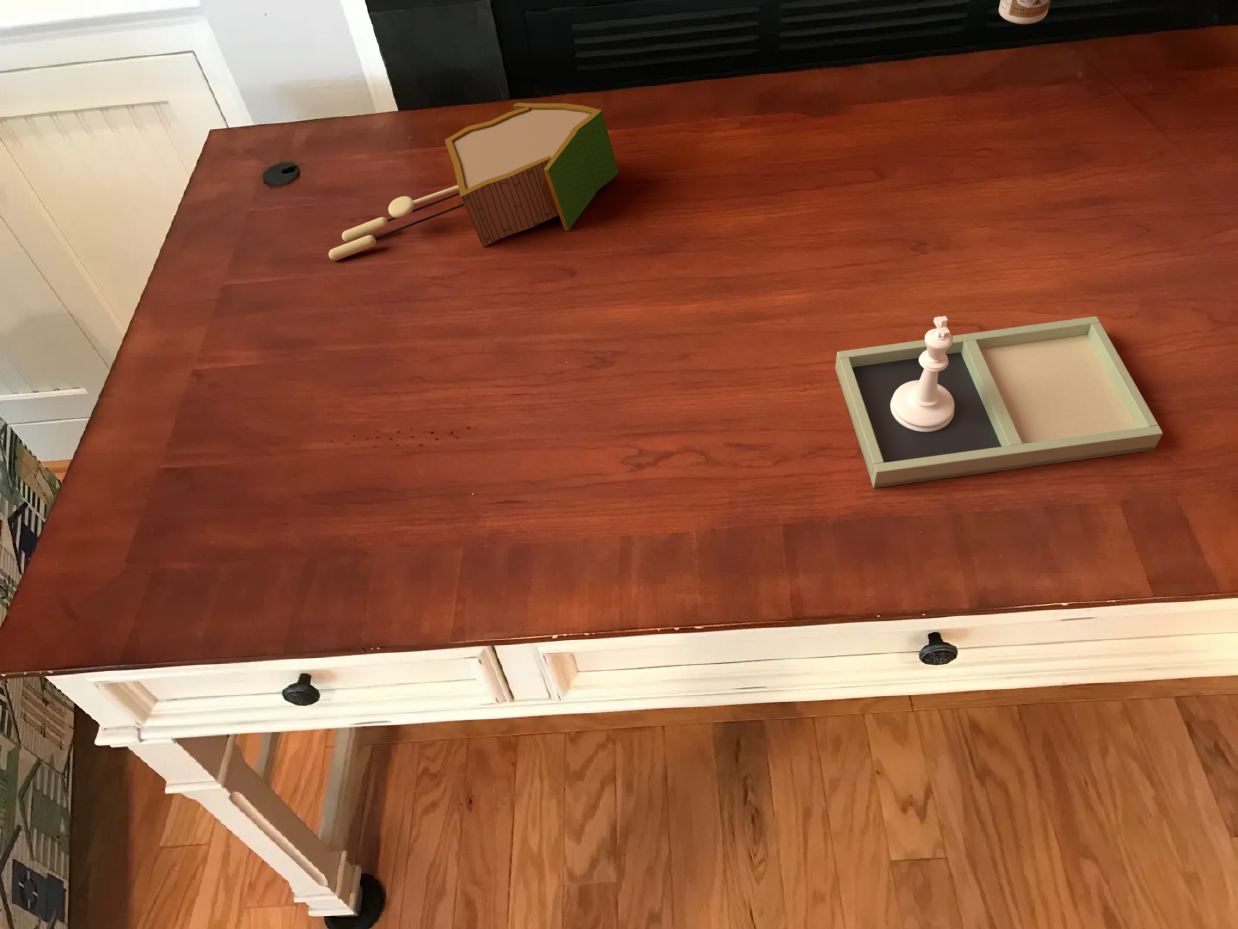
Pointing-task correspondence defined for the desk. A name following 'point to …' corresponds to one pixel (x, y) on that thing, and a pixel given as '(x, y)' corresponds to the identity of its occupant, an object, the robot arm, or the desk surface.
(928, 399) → the chess piece
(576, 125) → the cuckoo clock
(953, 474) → the sorting tray
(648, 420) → the desk surface
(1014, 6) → the pill bottle
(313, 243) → the desk surface
